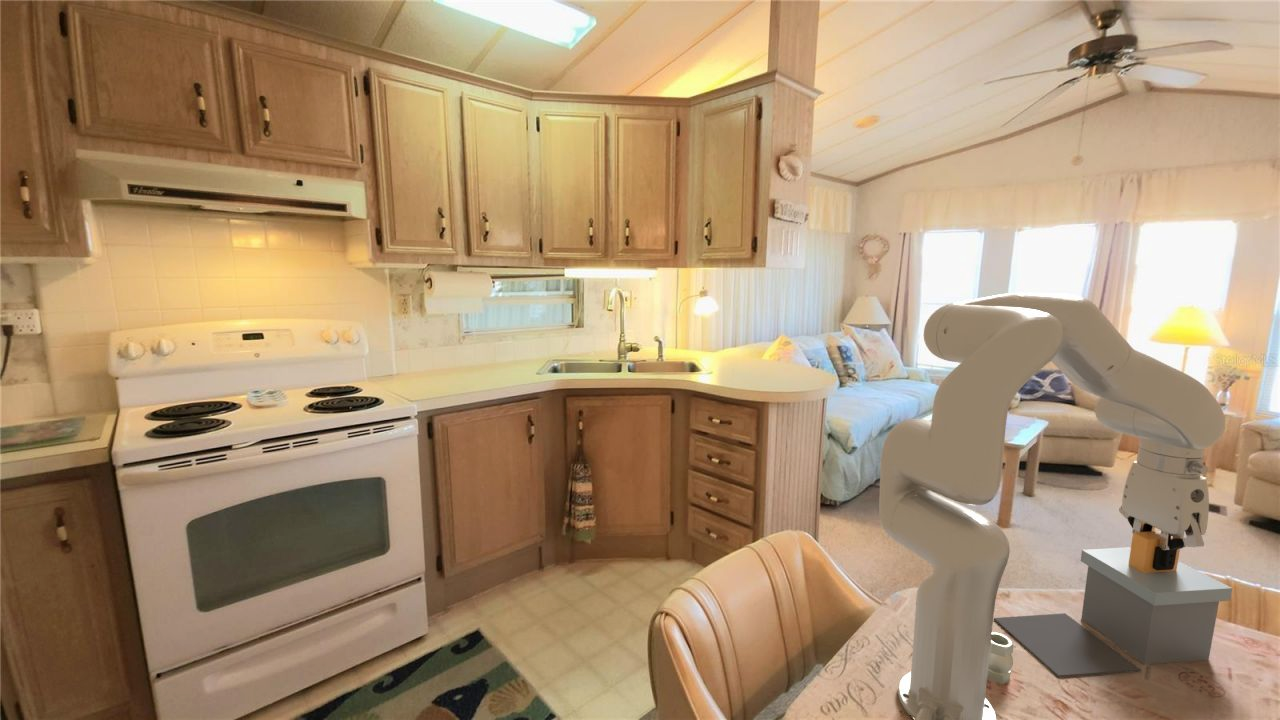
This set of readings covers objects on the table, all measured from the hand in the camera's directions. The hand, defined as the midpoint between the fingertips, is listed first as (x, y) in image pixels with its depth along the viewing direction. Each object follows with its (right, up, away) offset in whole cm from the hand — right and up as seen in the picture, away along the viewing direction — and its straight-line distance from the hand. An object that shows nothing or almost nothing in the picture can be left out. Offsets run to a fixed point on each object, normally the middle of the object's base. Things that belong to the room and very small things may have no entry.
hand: (1152, 562), depth 89 cm
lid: (0, -3, +1) cm, 3 cm away
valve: (-30, -16, -1) cm, 34 cm away
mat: (-14, -15, +2) cm, 21 cm away
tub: (0, -14, +2) cm, 14 cm away
